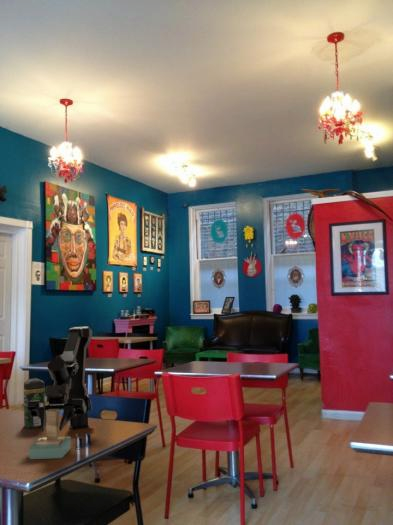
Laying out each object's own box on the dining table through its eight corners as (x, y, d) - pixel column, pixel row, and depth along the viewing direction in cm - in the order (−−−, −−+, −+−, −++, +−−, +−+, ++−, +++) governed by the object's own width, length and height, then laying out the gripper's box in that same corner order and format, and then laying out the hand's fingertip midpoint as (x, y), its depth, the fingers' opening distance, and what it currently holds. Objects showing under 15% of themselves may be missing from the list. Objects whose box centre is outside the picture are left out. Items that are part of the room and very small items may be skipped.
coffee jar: (22, 424, 197) (22, 378, 199) (42, 422, 201) (42, 376, 203) (25, 429, 189) (25, 381, 191) (46, 426, 192) (46, 379, 194)
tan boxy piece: (43, 441, 158) (43, 409, 159) (65, 440, 158) (64, 408, 159) (35, 447, 151) (35, 414, 152) (58, 446, 151) (58, 413, 152)
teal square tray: (40, 449, 159) (40, 437, 160) (70, 448, 159) (70, 436, 159) (29, 459, 149) (29, 446, 150) (61, 457, 149) (61, 445, 150)
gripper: (28, 376, 163) (15, 417, 150) (83, 374, 162) (75, 415, 150) (36, 396, 170) (24, 436, 158) (89, 394, 169) (81, 434, 157)
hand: (51, 430), depth 155 cm, fingers open, 5 cm apart
